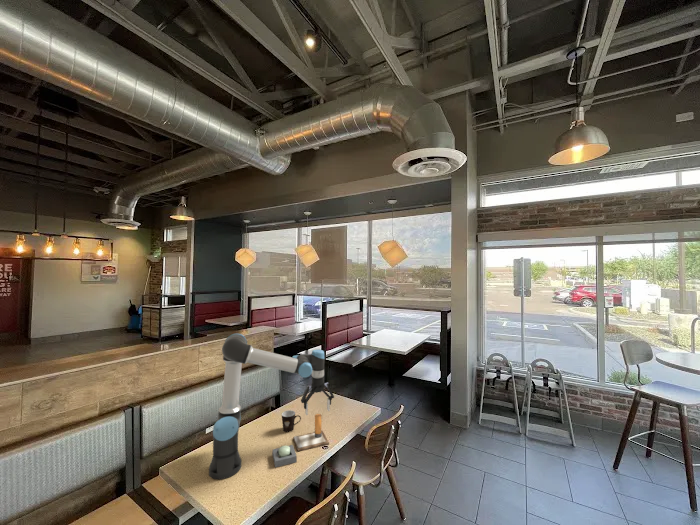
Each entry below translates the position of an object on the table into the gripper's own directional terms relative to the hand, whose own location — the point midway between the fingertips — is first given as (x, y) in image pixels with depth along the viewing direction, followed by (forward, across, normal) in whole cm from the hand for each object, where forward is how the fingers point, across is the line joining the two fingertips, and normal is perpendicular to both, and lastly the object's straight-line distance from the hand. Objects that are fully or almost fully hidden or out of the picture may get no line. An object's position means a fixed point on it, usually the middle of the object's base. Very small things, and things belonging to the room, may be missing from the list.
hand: (317, 412), depth 174 cm
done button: (+13, -22, -12) cm, 28 cm away
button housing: (+15, -22, -12) cm, 29 cm away
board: (+15, -4, -2) cm, 16 cm away
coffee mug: (+16, -14, +15) cm, 26 cm away
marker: (+14, 0, 0) cm, 14 cm away
